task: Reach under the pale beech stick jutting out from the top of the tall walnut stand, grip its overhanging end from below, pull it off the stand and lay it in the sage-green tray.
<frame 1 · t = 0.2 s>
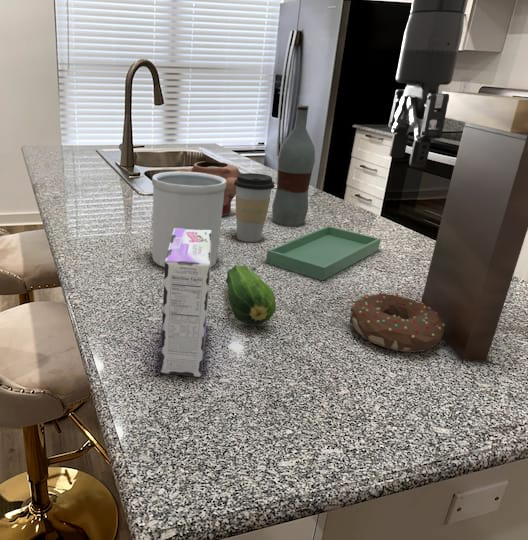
hand: (406, 161, 80), 26 cm above the worktop, tool pointing down, fingers open, 8 cm apart
walnut stand: (449, 333, 82), on the worktop
beech stick: (483, 123, 76), point 32 cm above the worktop, touching walnut stand
coffee cup: (248, 238, 124), on the worktop
vegetable: (244, 306, 89), on the worktop
decorative planter: (206, 213, 144), on the worktop
vodka: (288, 222, 138), on the worktop
tray: (324, 256, 114), on the worktop
donut: (393, 337, 81), on the worktop
candy box: (184, 350, 75), on the worktop
utensil holder: (184, 260, 109), on the worktop
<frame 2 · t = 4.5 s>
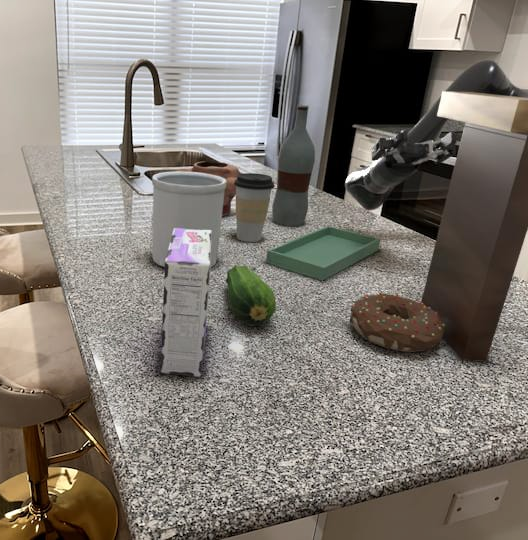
hand: (429, 135, 93), 28 cm above the worktop, tool pointing upward, fingers open, 8 cm apart
nothing on the worktop moved.
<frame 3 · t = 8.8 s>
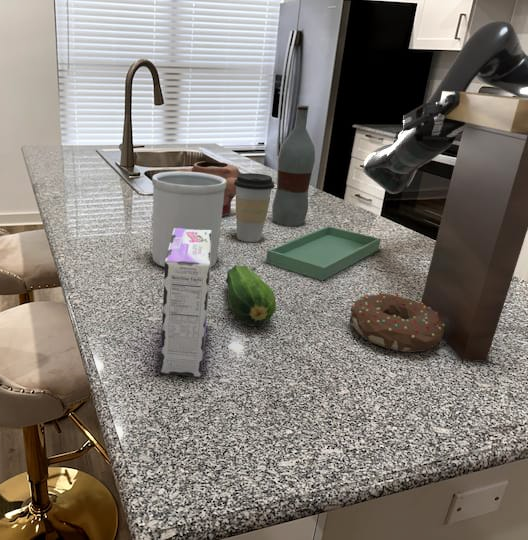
hand: (474, 98, 79), 35 cm above the worktop, tool pointing upward, fingers closed on beech stick, 4 cm apart
beech stick: (483, 123, 76), point 32 cm above the worktop, touching gripper, walnut stand
everything else where it was.
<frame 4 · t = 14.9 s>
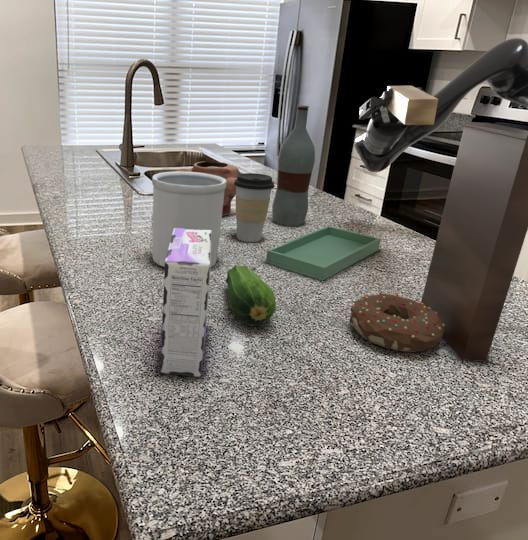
hand: (404, 92, 96), 35 cm above the worktop, tool pointing upward, fingers closed on beech stick, 4 cm apart
beech stick: (406, 114, 93), point 31 cm above the worktop, touching gripper
everything else where it was.
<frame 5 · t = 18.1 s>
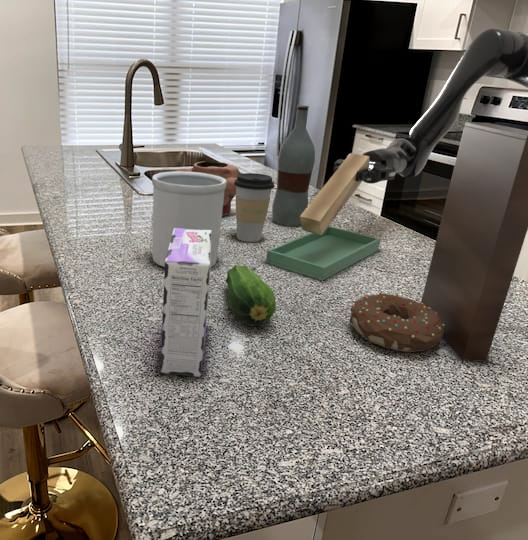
hand: (346, 174, 110), 18 cm above the worktop, tool horizontal, fingers closed on beech stick, 4 cm apart
beech stick: (337, 199, 111), point 13 cm above the worktop, tilted 30°, touching gripper
everything else where it was.
when the fingers open (9 cm above the worktop, at t = 21.1 s): beech stick drops 4 cm, resting on tray.
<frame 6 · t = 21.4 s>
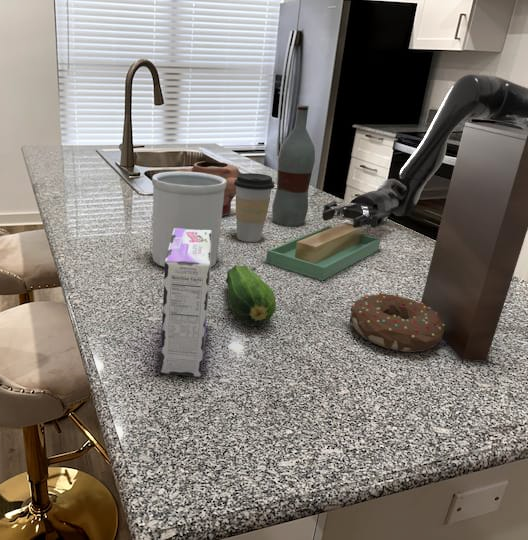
hand: (339, 219, 115), 8 cm above the worktop, tool horizontal, fingers open, 6 cm apart
beech stick: (328, 250, 115), point 1 cm above the worktop, touching tray
everything else where it was.
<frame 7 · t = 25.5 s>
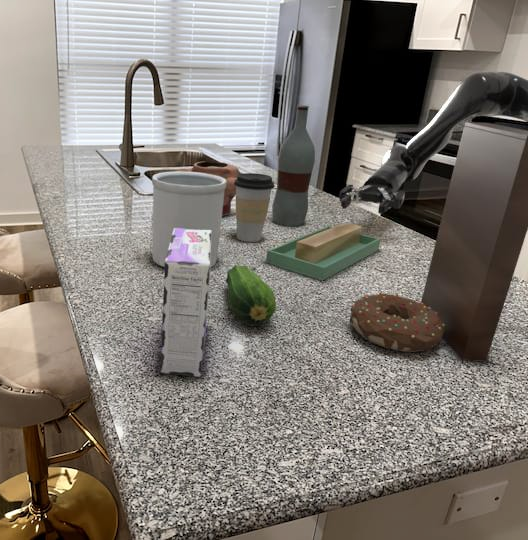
hand: (361, 207, 121), 9 cm above the worktop, tool horizontal, fingers open, 8 cm apart
nothing on the worktop moved.
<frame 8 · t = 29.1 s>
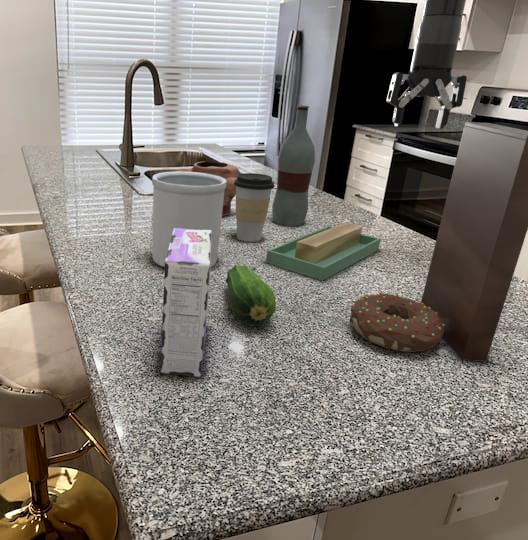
hand: (418, 127, 107), 28 cm above the worktop, tool pointing down, fingers open, 8 cm apart
nothing on the worktop moved.
at the end: beech stick inside the target area in the tray (1.9 cm from its centre), point 0.8 cm above the tray's base; beech stick tilted 0°; the gripper is holding nothing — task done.
